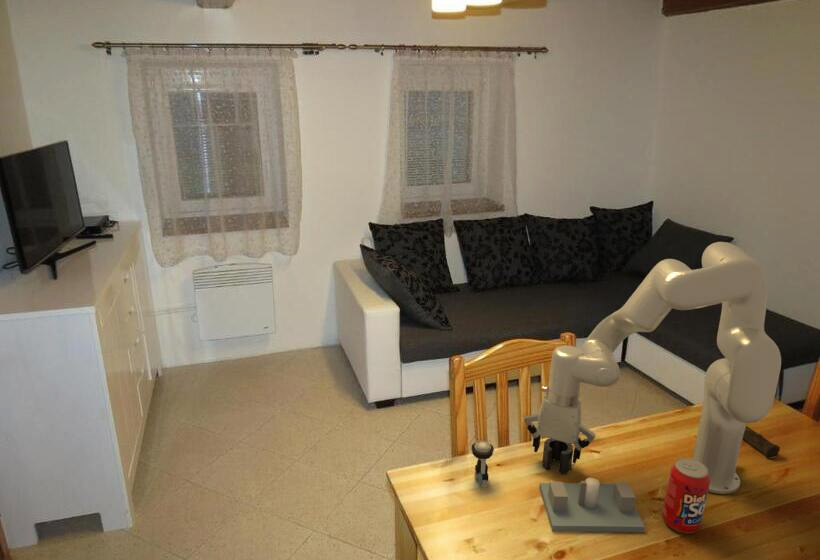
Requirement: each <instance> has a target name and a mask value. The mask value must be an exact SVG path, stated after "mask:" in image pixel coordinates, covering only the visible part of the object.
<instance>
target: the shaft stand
mask: <svg viewBox="0 0 820 560" xmlns="http://www.w3.org/2000/svg"><path fill="white" fill-rule="evenodd" d="M539 491H540V494H541V497H542V503H543V505H544V509H545V513H546V516H547V519H548V522H549V525H550V530H551V532H588V533H589V532H592V533H595V532H596V533H598V532H599V533H603V532H604V533H645V528H646V526H645V524H644V522H643V520H642V518H641V516H640V514H639V513H638V510H637V508H636V507H635V502H636V495H635V494H634V492H633V490H632V488H631V486H630V484H629V482H621V481H620V482H614V483H600V481H599V480H598V479H597V478H594V477H588V478H586V479H585V480H580V483H576V482H575V483H574V482H573V483H569V482H568V483H565V482H563V481H549V482H540V483H539Z"/></svg>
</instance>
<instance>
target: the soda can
mask: <svg viewBox="0 0 820 560" xmlns="http://www.w3.org/2000/svg"><path fill="white" fill-rule="evenodd" d="M709 485H710V475H709V474H708V469H707V467H706V466H705V465H704V464H702V463H701V462H699V461H696V460H693V459H692V458H688V457H682V458H679V459H676V461H675V463H674V464H672V465H671V467H670V471H669V476H668V481H667V487H666V491H665V497H664V501H663V507H662V513H661V515H662V516H661V517H662V519H663V521H664V522H665V524H666V525H667V526H668V527H670V528H671V529H673V530H674V531H676V532H680V533H682V534H694V533H697V532H698V531H699V530H700V528H701V527H702V522H703V517H704V512H705V507H706V503H707V499H708V494H709V491H708V490H709Z"/></svg>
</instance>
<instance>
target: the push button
mask: <svg viewBox="0 0 820 560" xmlns="http://www.w3.org/2000/svg"><path fill="white" fill-rule="evenodd" d="M470 449H471V451H472V455H473V456H474V457H475V458H477V461H476V464H475V467H474V470H475V471H474V480H475V481H476V480H477V481H478V484H479V486H480V485H481V486H482V488H483V489H487V488H488V486H487V485H488V483H487V482H488V481H489V478H490V477H489V473H488V471H489V466H488V465H487V459H490V458H491V457H492V456H493V454H494V451H495V449H494V446H493V445H492V444H491V443H490V442H489V441H487V440H483V439H481V440H480V439H479V440H476V441H475V442H474V443H473V444H471V448H470Z"/></svg>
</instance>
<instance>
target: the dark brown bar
mask: <svg viewBox="0 0 820 560" xmlns="http://www.w3.org/2000/svg"><path fill="white" fill-rule="evenodd" d="M743 440H744V441H746V442H747V443H749V444H750V445H751V446H753V448H755V449H756V450H758V451H759V452H760V453H762V454H764V455H765V458H770V457H774V456H776V457H777V456H778V454H779V452H780V450H781V447H780V446H779V445H778V444H775V443H773V442H771V441H769V440H768V439H767V438H766V437H764V436H763V435H762V434H760V433H757V432H756V431H755V430H753V429H752V428H750V427H749V426H747V425H746V427H745V431H744V435H743ZM774 458H775V457H774ZM770 459H771V458H770Z"/></svg>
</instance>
